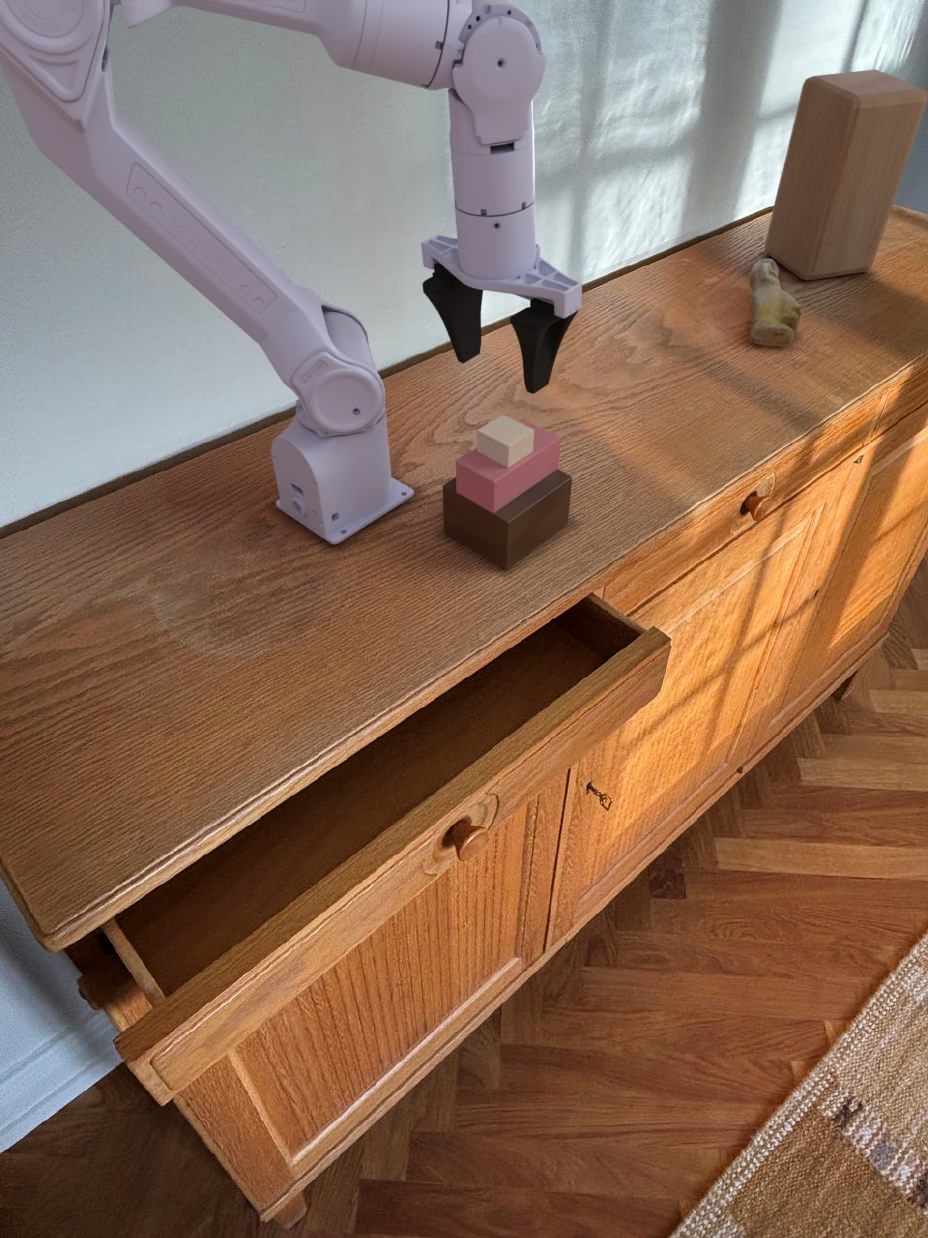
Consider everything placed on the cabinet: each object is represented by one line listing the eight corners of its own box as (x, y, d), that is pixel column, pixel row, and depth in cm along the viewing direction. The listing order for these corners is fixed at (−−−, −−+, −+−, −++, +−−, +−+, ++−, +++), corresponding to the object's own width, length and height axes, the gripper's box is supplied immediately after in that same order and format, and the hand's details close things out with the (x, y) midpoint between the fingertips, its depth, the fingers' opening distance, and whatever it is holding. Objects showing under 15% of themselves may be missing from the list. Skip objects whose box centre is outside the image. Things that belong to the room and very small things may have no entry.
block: (759, 251, 112) (801, 74, 98) (826, 241, 114) (877, 66, 100) (802, 284, 105) (854, 98, 91) (873, 273, 107) (935, 89, 93)
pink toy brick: (493, 513, 67) (494, 460, 63) (456, 492, 69) (455, 438, 65) (558, 468, 71) (563, 415, 67) (521, 449, 73) (524, 396, 69)
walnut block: (506, 571, 70) (507, 522, 66) (443, 533, 73) (442, 485, 69) (568, 524, 74) (572, 476, 70) (506, 490, 77) (507, 443, 74)
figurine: (813, 331, 92) (803, 253, 101) (772, 309, 91) (765, 232, 100) (781, 366, 96) (773, 288, 105) (740, 345, 95) (736, 268, 104)
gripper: (611, 203, 59) (603, 379, 69) (460, 162, 67) (472, 326, 77) (545, 240, 56) (546, 419, 66) (393, 192, 64) (414, 359, 73)
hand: (502, 372), depth 71 cm, fingers open, 7 cm apart
